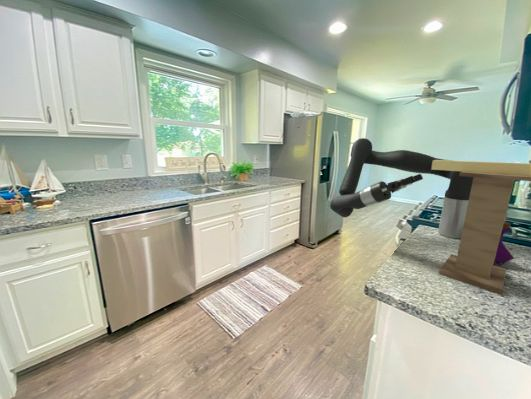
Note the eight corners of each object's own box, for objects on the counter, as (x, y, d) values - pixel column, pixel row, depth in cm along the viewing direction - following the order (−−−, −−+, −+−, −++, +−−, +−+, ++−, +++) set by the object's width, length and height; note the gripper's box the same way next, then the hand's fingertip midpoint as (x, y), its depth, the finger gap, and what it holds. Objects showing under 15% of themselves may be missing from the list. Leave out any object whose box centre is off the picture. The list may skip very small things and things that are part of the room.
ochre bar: (433, 168, 77) (435, 159, 76) (532, 174, 61) (535, 163, 60) (431, 169, 75) (432, 160, 75) (532, 175, 59) (535, 164, 58)
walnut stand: (450, 257, 83) (468, 169, 76) (505, 273, 73) (532, 173, 65) (438, 273, 72) (458, 173, 65) (501, 294, 62) (532, 177, 55)
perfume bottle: (512, 267, 76) (526, 215, 72) (486, 265, 78) (498, 214, 74) (495, 256, 83) (507, 209, 79) (471, 255, 85) (481, 208, 81)
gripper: (362, 187, 88) (406, 168, 76) (378, 183, 97) (419, 166, 85) (370, 205, 87) (416, 189, 74) (386, 200, 96) (428, 184, 84)
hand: (417, 177), depth 80 cm, fingers open, 8 cm apart
